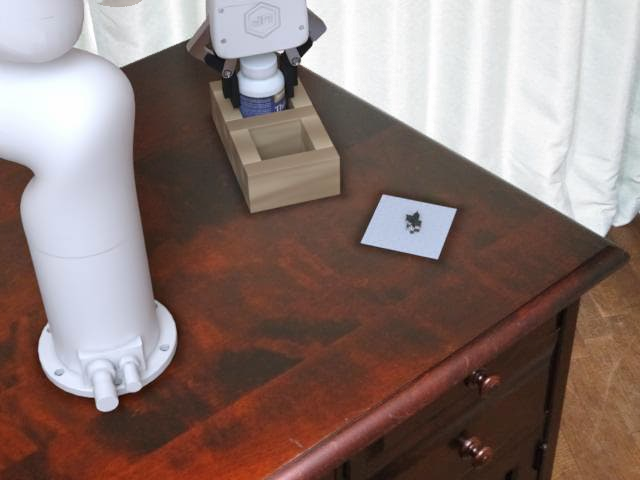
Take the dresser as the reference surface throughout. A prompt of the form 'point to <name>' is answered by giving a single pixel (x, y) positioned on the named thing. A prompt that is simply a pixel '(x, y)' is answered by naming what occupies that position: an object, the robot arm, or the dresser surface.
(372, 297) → the dresser surface
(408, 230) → the figurine
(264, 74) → the pill bottle
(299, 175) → the socket block
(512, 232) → the dresser surface
